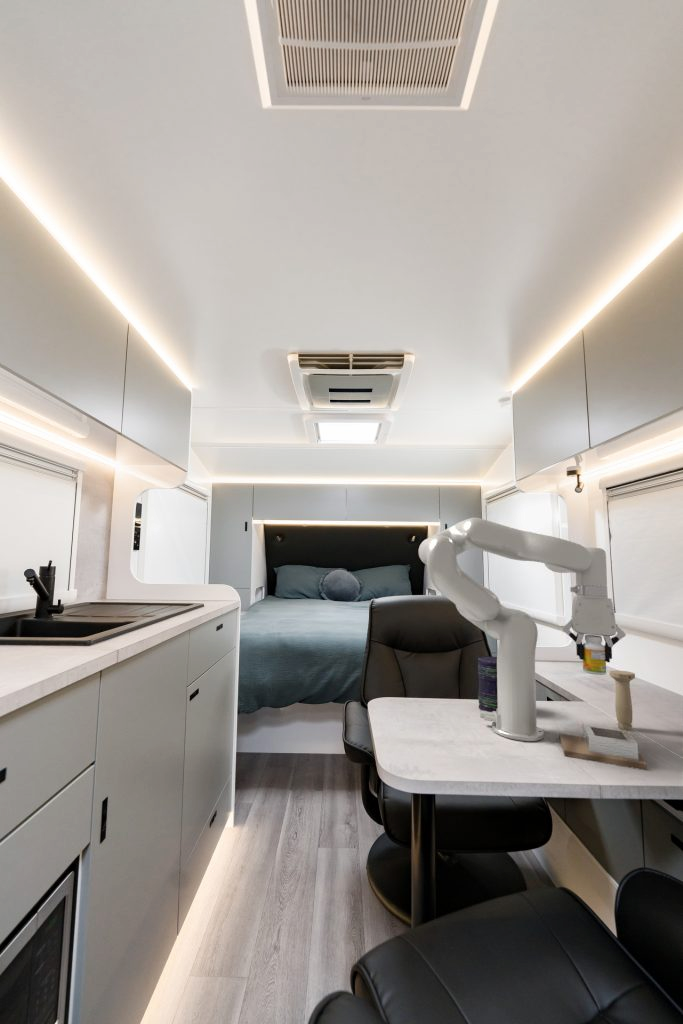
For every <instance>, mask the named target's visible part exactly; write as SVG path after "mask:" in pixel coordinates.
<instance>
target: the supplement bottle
mask: <svg viewBox="0 0 683 1024" xmlns="http://www.w3.org/2000/svg"><path fill="white" fill-rule="evenodd" d="M584 640H585V642H584V643H582V644H583V648H584V659H583V660H582V670H583V672H584V673H586V674H590V675H597V676H604V675H607V662H606V654H605V647H604V645H603V644H602V642H603V636H600V635H589V634H584Z"/></svg>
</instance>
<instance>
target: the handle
mask: <svg viewBox="0 0 683 1024" xmlns="http://www.w3.org/2000/svg"><path fill="white" fill-rule="evenodd" d="M609 677H611V678H612V679H613V680H614V681H615V703H614V705H615V715H616V716H615V717H616V721H617V727H618V729H622V730H627V731H631V730H632V728H633V704H632V696H631V686H630V682H631V681H633V680H635V678H636V674H635V672H632V671H628V670H616V669H615V670H609Z"/></svg>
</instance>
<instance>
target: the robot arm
mask: <svg viewBox="0 0 683 1024" xmlns="http://www.w3.org/2000/svg"><path fill="white" fill-rule="evenodd" d="M470 549H475V550H480V551H483V552H486V553H490V554H492V555H493V554H494V555H497V556H499V557H503V558H505V559H508V560H509V559H510V560H513V561H514V560H515V561H522V562H535V563H536V562H537V563H542V564H544V566H545V567H546V568H547V569H548V570H550V571H552V572H554V573H559V574H560V573H561V574H563V573H564V574H567V573H569V574H570V573H575V585H574V586H571V587H570V589H569V591H570V593H574V594H575V596H573V599H572V606H571V619H570V620H569V621H568V622H567V623H566V624H565V625H564V626H563V627H562V631H563V632H564V633H565V634H566V635H568V637H570V638H571V639H572V640H573V641H574V642H575V643H576V656H578V658H579V659H580V660H581V661H583V659H584V648H583V644H584V643H583V639H584V637H585V635H595V636H601V637H602V639H604V645H603V646H604V647H605V654H606V663H610V662H611V660H612V659H613V650H612V649H613V647H614V645H616V644H617V643H618V642H619V641H621V640H622V639H623V638H625V637H626V635H627V634H626V632H624V630H623V629H622V628H621V627H619V625H618V624H617V623H616V616H615V609H614V605H613V600H612V598H608V597H609V596H608V595H609V594H608V571H607V569H608V568H607V567H608V566H607V553H606V550H605V549H603V548H602V547H601V548H600V547H585V546H583V545H581V544H580V543H576V542H573V541H571V540H567V539H563V538H560V537H557V536H556V537H555V536H551V535H546V534H541V533H537V532H532V531H526V530H521V529H518V528H514V527H510V526H508V525H504V524H500V523H497V522H493V521H490V520H487V519H484V518H480V517H470V518H466V519H464V520H461V521H459V522H458V523H455V524H454V525H451V526H450V527H448V528H446V529H445V530H442V531H440V532H438V533H436V534H434V535H432V536H430V537H428V538H426V539H424V540H423V541H422V542H421V543H420V545H419V548H418V557H419V559H420V560H421V562H422V563H423V564H425V565H426V566H427V573H428V576H429V578H430V581H431V583H432V585H433V586H434V588H436V590H437V591H439V593H440V594H441V595H443V596H444V597H445V598H446V599H448V600H449V601H450V602H452V603H453V604H454V605H455V608H456V609H457V612H458V613H459V614H460V615H461V616H462V617H464V618H465V619H466V620H467V621H469V622H470V623H472V624H473V625H474V626H476V627H477V628H478V629H480V630H481V631H482V632H484V633H485V634H487V635H488V636H490V637H491V638H494V639H495V640H498V641H499V644H498V650H497V655H496V657H497V702H498V708H497V710H496V711H493V712H487V711H482V710H480V709H479V710H480V715H479V717H480V719H484V721H488V722H492V723H491V730H492V731H493V732H494V733H496V734H497V735H499V736H501V737H504V738H507V739H510V740H516V741H523V742H537V741H540V740H542V739H543V738H544V731H543V729H541V728H540V727H538V725H537V693H536V692H537V689H536V688H537V687H536V684H537V683H536V648H537V644H538V643H537V642H538V637H539V636H538V633H539V631H538V627H537V624H536V622H535V619H533V617H532V616H530V615H529V614H528V613H526V612H525V611H522V610H519V609H514V608H507V607H506V606H504V605H503V604H501V602H500V599H499V597H498V596H497V595H496V594H495V592H493V591H492V590H490V589H489V588H487V587H486V586H484V585H483V584H481V583H480V582H478V581H477V580H476V579H474V578H472V576H470V575H469V574H467V573H466V572H465V571H464V570H462V568H461V567H460V566H459V563H458V558H457V556H458V555H461V554H463V553H464V552H466V551H468V550H470ZM570 629H572V631H574V632H575V633H576V635H575V633H573V632H572V631H571V630H570Z"/></svg>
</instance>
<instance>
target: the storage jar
mask: <svg viewBox="0 0 683 1024" xmlns="http://www.w3.org/2000/svg"><path fill="white" fill-rule="evenodd" d="M477 660H478V661H477V662H478V663H477V664H478V665H477V671H478V672H477V673H478V677H479V678H478V680H479V681H478V686H479V688H478V695H477V698H478V710H482V711H487V712H493V711H496V710H497V708H498V702H497V656H491V655H490V656H488V655H487V656H486V655H485V656H479V657H478V659H477Z"/></svg>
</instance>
